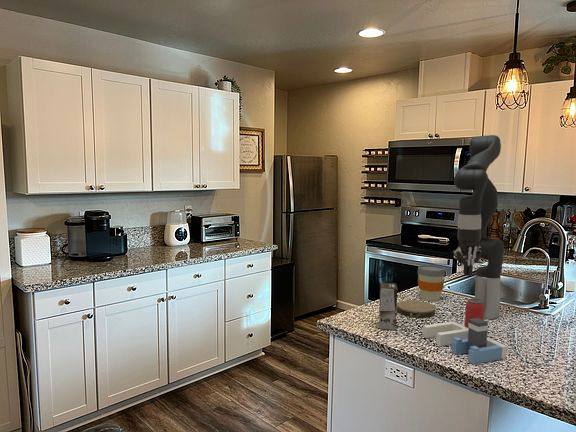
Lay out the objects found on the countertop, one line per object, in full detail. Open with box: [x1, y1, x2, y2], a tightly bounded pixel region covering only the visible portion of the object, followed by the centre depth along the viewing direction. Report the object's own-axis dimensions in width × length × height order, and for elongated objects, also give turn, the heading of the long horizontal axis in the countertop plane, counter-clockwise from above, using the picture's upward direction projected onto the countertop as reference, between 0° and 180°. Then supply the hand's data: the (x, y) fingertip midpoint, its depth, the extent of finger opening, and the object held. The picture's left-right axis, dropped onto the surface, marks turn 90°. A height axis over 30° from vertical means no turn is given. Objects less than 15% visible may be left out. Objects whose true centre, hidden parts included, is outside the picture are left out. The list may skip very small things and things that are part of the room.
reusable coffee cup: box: [417, 264, 446, 302], centre depth 203 cm, size 13×13×15 cm
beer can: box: [464, 297, 485, 328], centre depth 162 cm, size 7×7×12 cm
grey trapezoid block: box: [466, 318, 489, 355], centre depth 140 cm, size 4×4×12 cm
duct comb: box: [422, 320, 508, 365], centre depth 148 cm, size 14×24×5 cm, turn 21°
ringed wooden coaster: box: [396, 299, 436, 319], centre depth 184 cm, size 16×16×3 cm
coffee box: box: [378, 282, 398, 331], centre depth 167 cm, size 9×6×16 cm
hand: (467, 275), depth 151 cm, fingers closed
